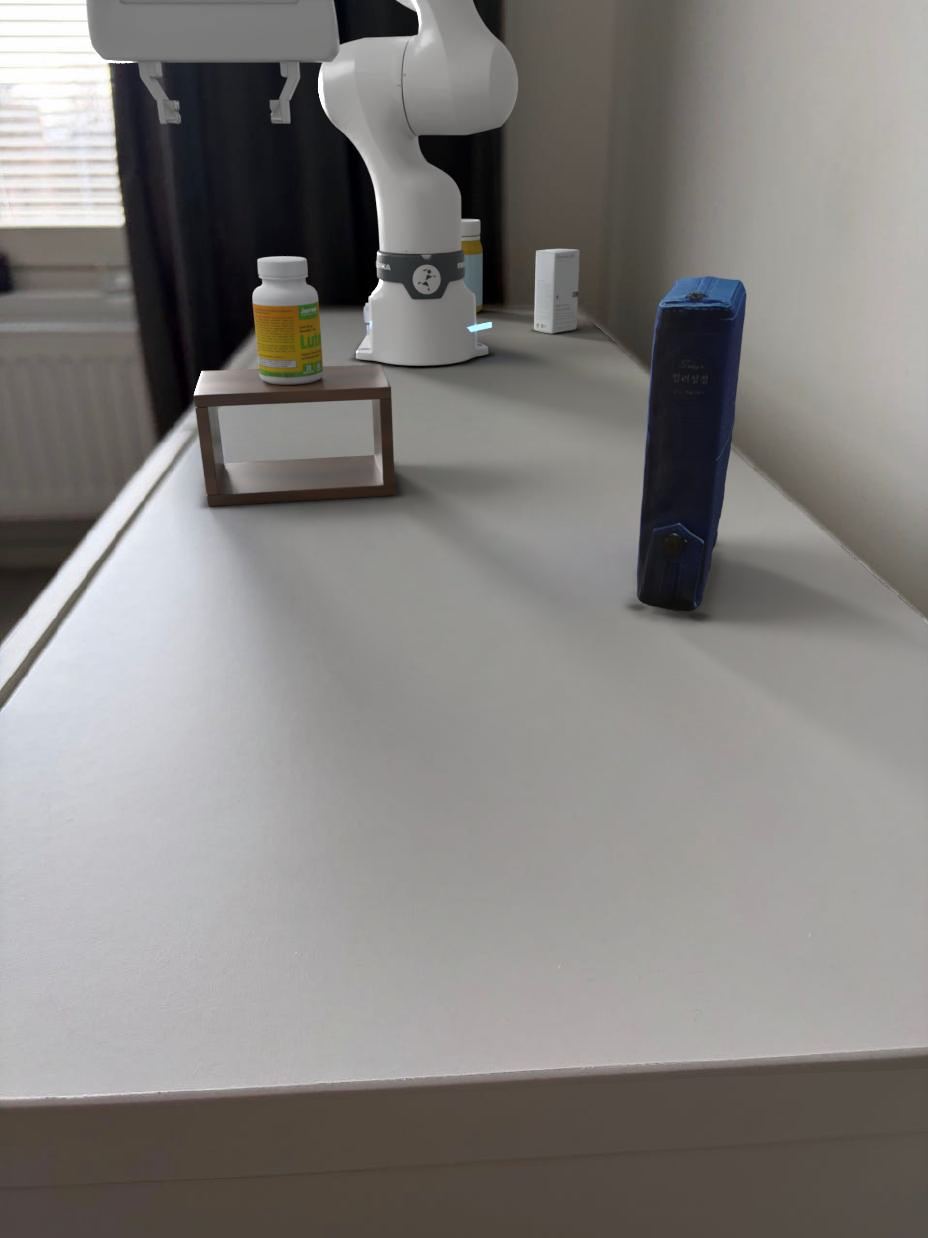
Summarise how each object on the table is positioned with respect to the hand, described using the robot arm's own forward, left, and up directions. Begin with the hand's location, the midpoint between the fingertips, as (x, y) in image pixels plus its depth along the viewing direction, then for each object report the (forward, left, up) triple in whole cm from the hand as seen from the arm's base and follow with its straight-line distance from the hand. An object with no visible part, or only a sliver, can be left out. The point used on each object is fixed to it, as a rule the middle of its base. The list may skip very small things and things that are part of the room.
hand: (226, 123), depth 83 cm
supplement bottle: (+11, +4, -20) cm, 23 cm away
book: (+36, +30, -29) cm, 55 cm away
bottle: (-79, +34, -29) cm, 91 cm away
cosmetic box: (-59, +46, -29) cm, 80 cm away
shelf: (+11, +4, -29) cm, 31 cm away
